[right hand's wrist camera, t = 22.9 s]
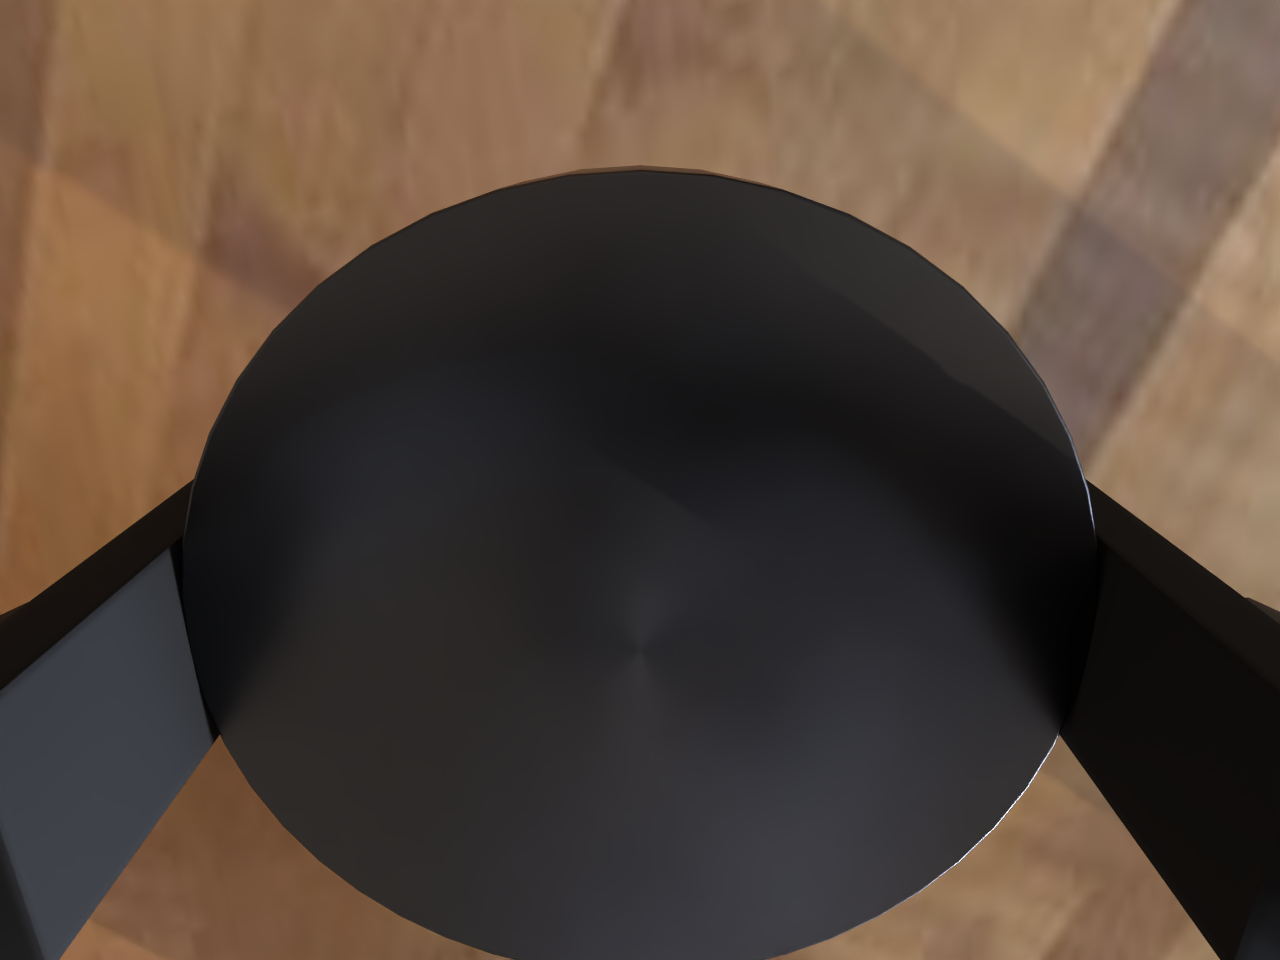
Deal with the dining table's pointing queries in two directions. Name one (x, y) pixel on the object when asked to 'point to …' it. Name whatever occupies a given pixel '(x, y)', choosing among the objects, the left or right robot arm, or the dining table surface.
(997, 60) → the dining table surface
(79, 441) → the dining table surface
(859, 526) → the lid
